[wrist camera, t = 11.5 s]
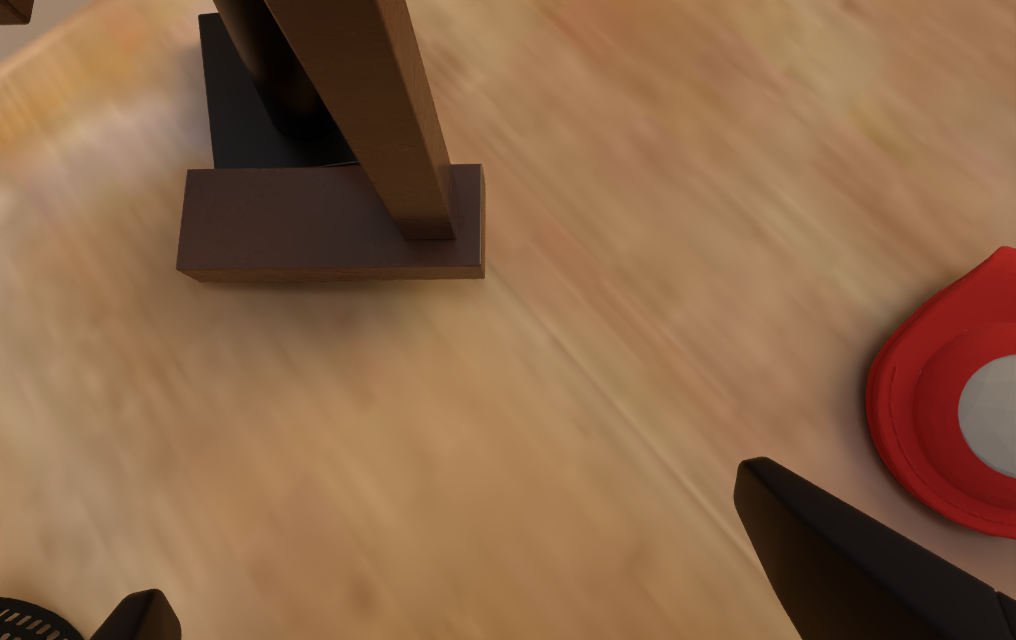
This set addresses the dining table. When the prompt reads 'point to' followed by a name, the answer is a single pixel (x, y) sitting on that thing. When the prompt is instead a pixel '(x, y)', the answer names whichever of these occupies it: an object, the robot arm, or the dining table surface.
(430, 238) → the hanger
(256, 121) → the coat rack
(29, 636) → the smartwatch
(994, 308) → the tracker holder
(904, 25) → the dining table surface
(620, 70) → the dining table surface
